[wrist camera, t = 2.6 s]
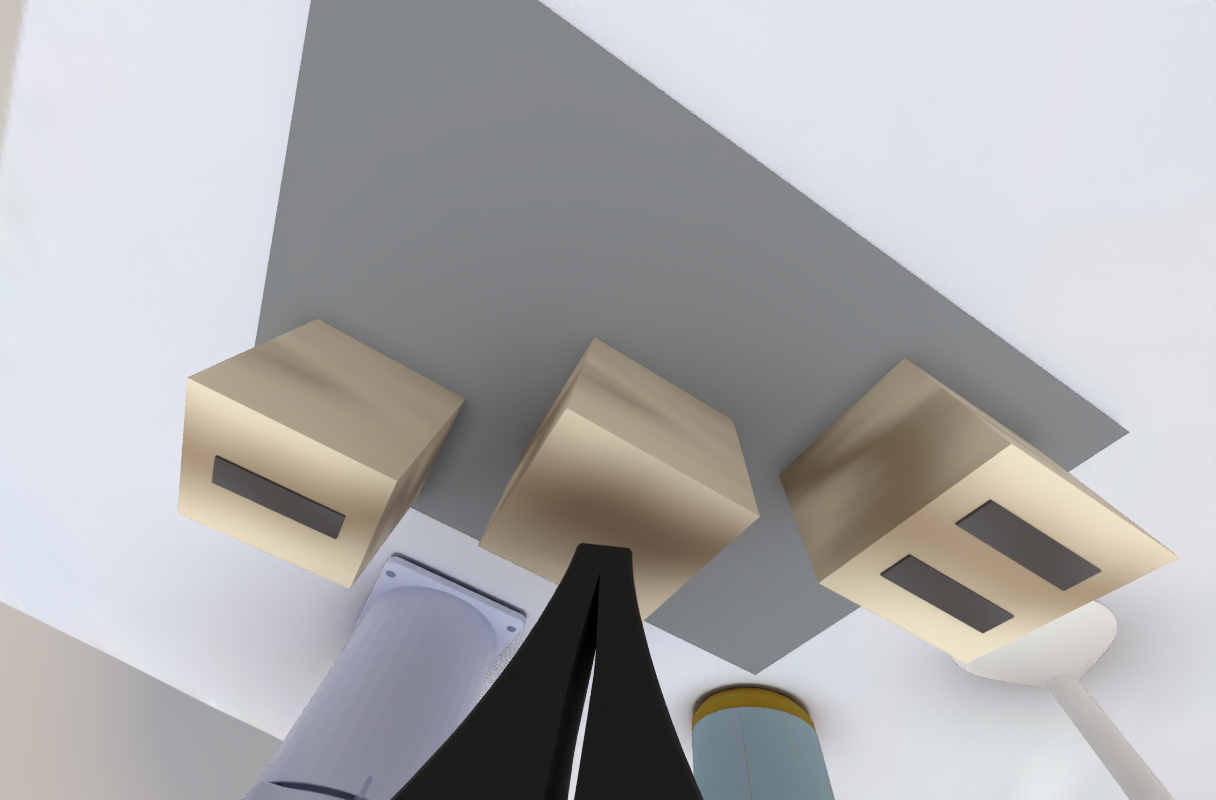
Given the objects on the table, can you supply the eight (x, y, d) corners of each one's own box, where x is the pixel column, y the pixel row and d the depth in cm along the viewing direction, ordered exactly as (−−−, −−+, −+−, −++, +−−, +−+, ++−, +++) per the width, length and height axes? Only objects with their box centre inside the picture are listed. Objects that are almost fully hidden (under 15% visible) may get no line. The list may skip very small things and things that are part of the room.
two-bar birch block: (892, 542, 18) (968, 666, 14) (778, 475, 17) (819, 585, 13) (1031, 444, 15) (1182, 560, 11) (904, 357, 14) (1013, 445, 10)
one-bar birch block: (418, 494, 20) (347, 591, 15) (290, 431, 19) (175, 514, 14) (465, 398, 17) (395, 483, 12) (317, 318, 16) (184, 378, 11)
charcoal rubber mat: (753, 667, 24) (755, 674, 23) (249, 420, 19) (242, 425, 19) (1118, 426, 15) (1129, 432, 15) (346, -137, 10) (334, -148, 10)
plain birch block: (644, 517, 19) (639, 624, 14) (523, 452, 18) (478, 546, 13) (733, 420, 16) (759, 516, 12) (594, 336, 15) (566, 408, 11)
